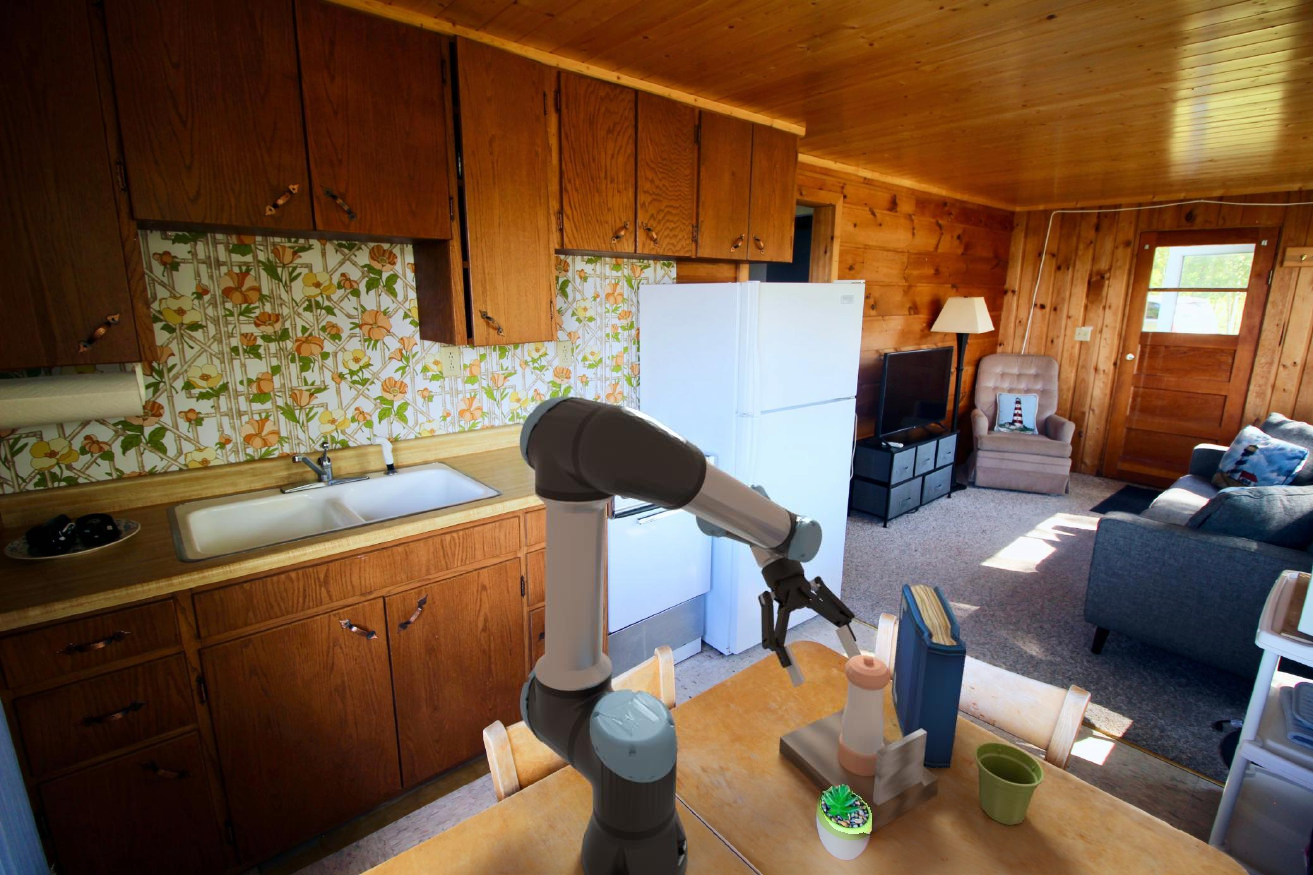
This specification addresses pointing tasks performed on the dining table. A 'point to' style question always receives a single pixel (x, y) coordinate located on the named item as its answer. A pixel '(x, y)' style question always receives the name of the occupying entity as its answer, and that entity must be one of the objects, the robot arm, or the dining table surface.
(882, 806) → the grey brown wooden stand
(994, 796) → the plant pot
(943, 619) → the book
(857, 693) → the pepper shaker
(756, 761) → the dining table surface
